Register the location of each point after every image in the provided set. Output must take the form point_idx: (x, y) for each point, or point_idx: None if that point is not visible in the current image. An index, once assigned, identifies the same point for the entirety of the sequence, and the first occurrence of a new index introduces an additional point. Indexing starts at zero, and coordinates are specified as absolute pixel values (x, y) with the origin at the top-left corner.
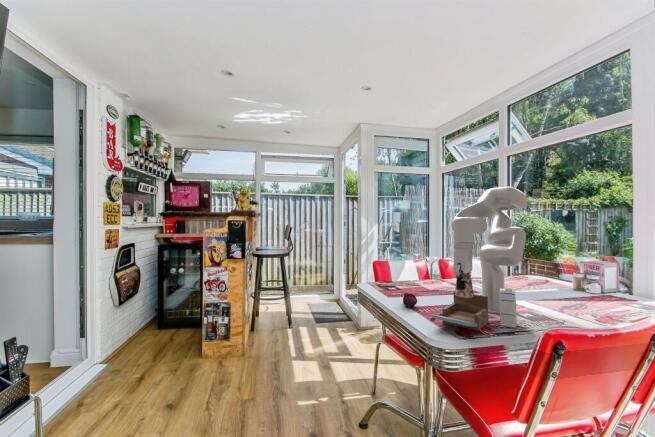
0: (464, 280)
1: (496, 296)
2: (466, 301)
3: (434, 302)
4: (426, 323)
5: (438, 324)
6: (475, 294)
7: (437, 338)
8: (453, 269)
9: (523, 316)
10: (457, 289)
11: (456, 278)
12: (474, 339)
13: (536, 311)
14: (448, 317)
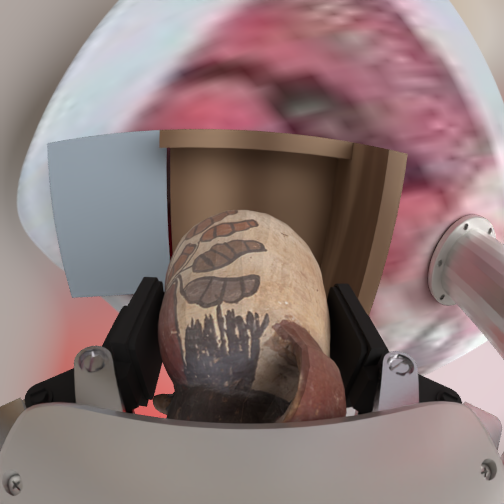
0: (140, 404)
1: (471, 312)
2: (349, 228)
3: (459, 40)
4: (126, 82)
5: (146, 125)
6: (371, 301)
7: (32, 194)
8: (7, 438)
9: (424, 336)
10: (172, 270)
11: (76, 360)
12: None
13: (467, 341)
14: (147, 171)
